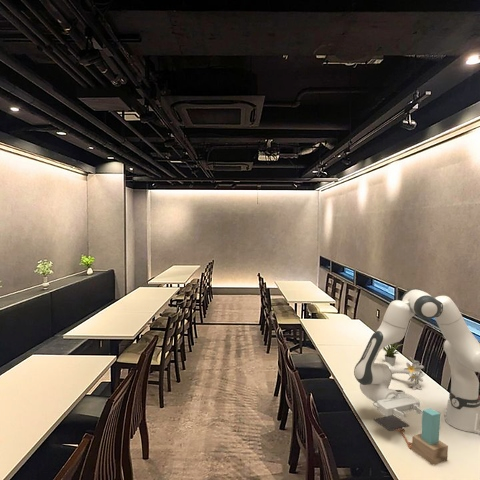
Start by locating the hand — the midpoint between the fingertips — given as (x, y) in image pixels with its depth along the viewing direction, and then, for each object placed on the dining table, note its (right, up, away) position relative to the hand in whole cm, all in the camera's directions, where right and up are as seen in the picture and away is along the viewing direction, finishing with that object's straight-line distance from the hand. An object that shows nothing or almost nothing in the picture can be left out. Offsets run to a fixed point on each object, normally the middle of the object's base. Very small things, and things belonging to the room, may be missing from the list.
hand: (412, 414), depth 157 cm
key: (-1, -13, +3) cm, 13 cm away
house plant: (+28, -9, +89) cm, 94 cm away
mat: (-3, -12, +16) cm, 20 cm away
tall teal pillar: (+3, -7, -8) cm, 11 cm away
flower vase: (+22, -11, +62) cm, 66 cm away
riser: (+3, -13, -8) cm, 15 cm away
